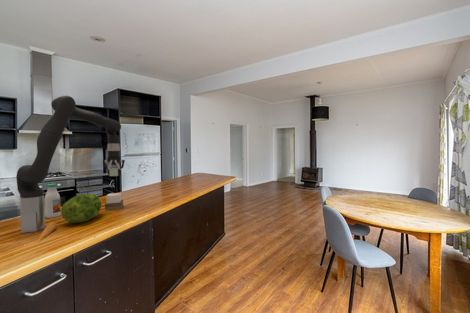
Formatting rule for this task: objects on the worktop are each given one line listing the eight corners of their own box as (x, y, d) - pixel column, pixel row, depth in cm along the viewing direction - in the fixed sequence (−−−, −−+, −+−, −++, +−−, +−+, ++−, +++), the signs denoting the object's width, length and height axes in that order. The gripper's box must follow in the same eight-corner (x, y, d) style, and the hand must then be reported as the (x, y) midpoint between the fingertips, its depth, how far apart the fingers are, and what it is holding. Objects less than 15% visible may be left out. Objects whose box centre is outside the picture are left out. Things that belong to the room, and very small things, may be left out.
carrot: (50, 230, 123) (46, 223, 122) (60, 226, 124) (55, 219, 123) (33, 249, 105) (28, 241, 103) (45, 244, 106) (39, 236, 105)
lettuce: (110, 213, 151) (109, 189, 151) (83, 227, 125) (83, 198, 124) (87, 213, 151) (86, 189, 151) (55, 227, 125) (54, 198, 124)
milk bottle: (47, 219, 140) (46, 185, 139) (43, 216, 145) (42, 184, 144) (62, 216, 146) (61, 183, 145) (58, 213, 151) (57, 182, 150)
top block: (119, 202, 162) (119, 195, 162) (106, 203, 159) (106, 195, 159) (121, 199, 169) (121, 193, 169) (109, 200, 167) (108, 193, 167)
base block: (121, 209, 161) (121, 202, 161) (105, 211, 158) (104, 203, 158) (123, 206, 171) (123, 199, 171) (107, 207, 168) (107, 200, 167)
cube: (117, 175, 162) (117, 168, 162) (109, 176, 160) (109, 168, 160) (118, 175, 167) (118, 168, 167) (110, 175, 165) (110, 168, 165)
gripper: (100, 150, 157) (101, 175, 158) (124, 150, 162) (125, 175, 162) (103, 150, 164) (103, 174, 165) (125, 150, 169) (126, 173, 169)
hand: (114, 174), depth 164 cm, fingers closed on cube, 5 cm apart
